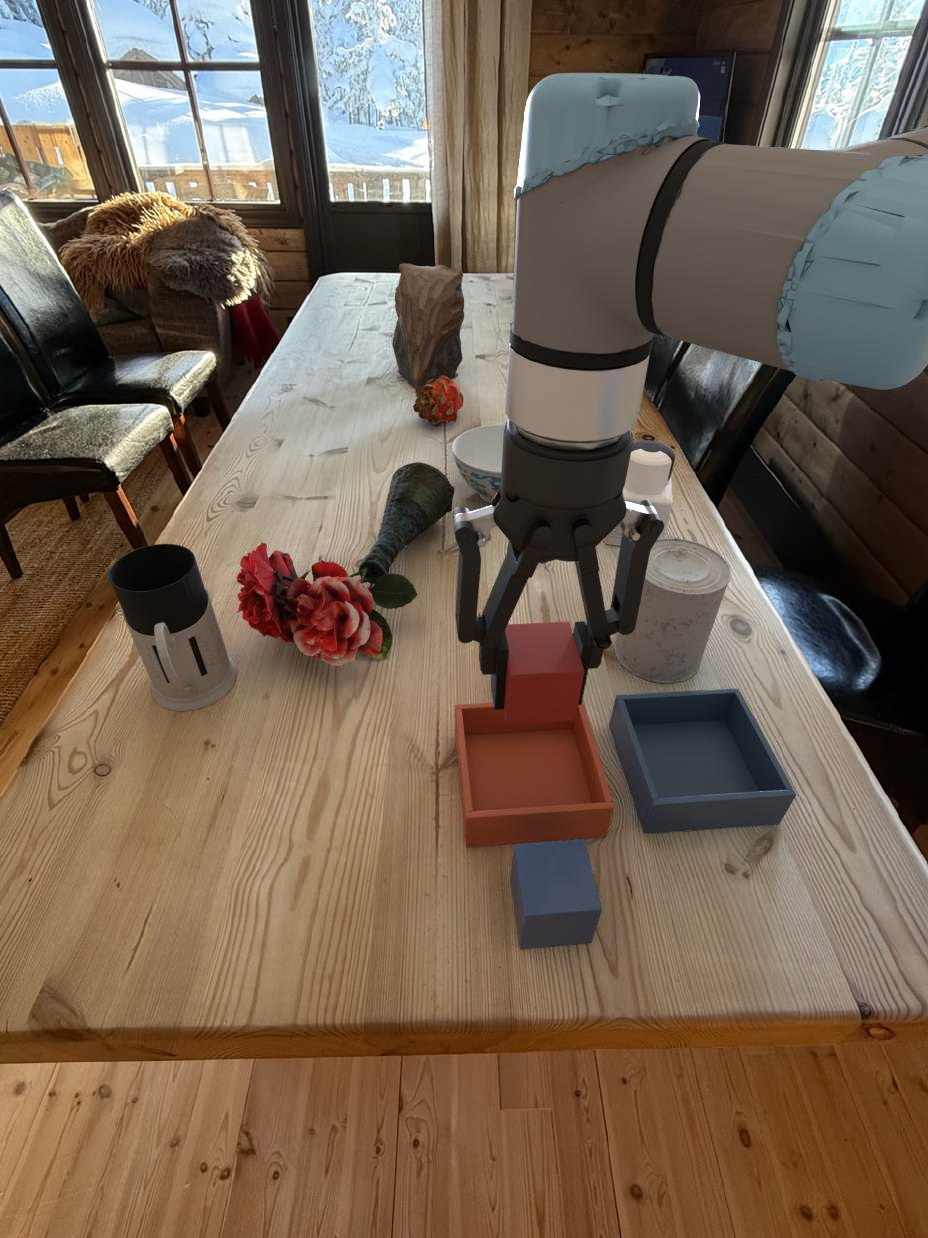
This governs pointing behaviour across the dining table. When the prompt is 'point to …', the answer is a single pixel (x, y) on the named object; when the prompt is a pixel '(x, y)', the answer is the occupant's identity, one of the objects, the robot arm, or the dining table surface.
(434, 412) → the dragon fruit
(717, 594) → the grey tin can
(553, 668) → the red block
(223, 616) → the dining table surface
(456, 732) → the red bin
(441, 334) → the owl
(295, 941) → the dining table surface
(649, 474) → the container
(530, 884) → the blue block
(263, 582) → the flower vase
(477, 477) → the chinaware
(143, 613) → the glass holder
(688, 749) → the blue bin
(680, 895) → the dining table surface
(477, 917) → the dining table surface
